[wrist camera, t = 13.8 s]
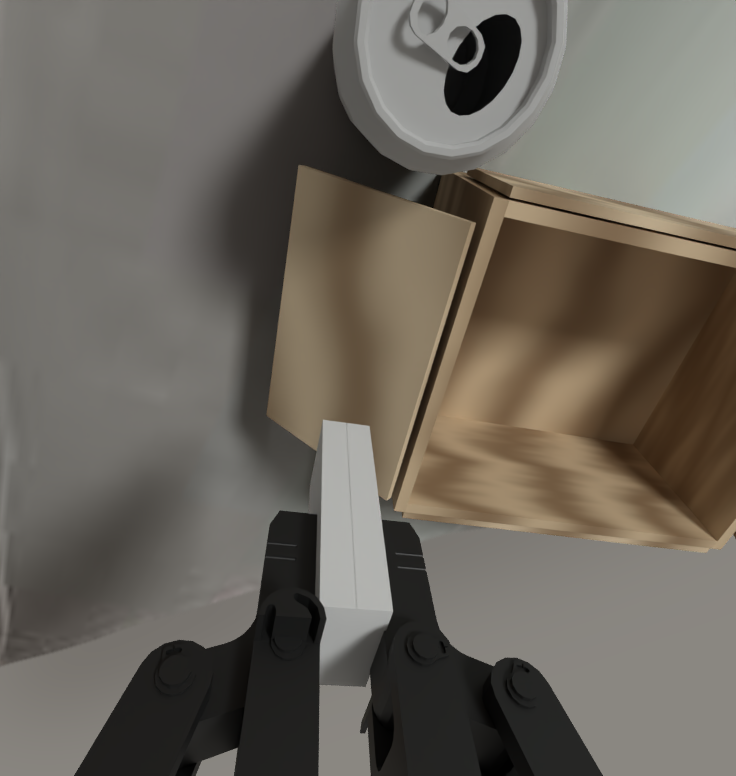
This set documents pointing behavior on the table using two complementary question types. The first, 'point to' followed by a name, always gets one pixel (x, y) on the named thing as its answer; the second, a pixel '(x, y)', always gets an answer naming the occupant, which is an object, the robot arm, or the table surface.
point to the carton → (580, 372)
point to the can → (446, 75)
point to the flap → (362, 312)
